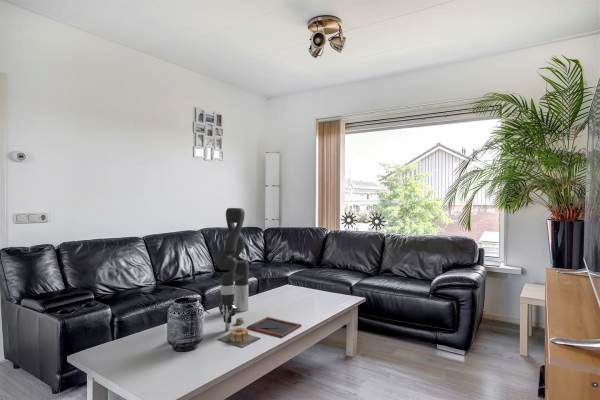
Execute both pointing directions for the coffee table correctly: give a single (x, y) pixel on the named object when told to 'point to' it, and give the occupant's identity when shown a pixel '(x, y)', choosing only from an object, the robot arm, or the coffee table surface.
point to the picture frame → (274, 327)
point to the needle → (227, 326)
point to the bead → (239, 321)
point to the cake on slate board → (239, 337)
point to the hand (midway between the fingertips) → (227, 322)
